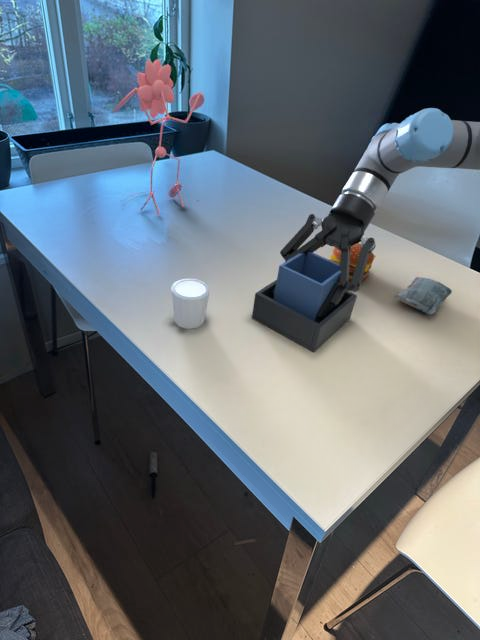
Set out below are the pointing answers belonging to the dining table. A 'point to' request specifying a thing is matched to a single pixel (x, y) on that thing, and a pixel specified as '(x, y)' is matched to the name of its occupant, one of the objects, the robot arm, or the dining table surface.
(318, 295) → the blue bin
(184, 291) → the white cup
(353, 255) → the hamburger
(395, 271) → the dining table surface
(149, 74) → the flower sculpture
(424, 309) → the packaged food
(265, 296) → the charcoal bin
